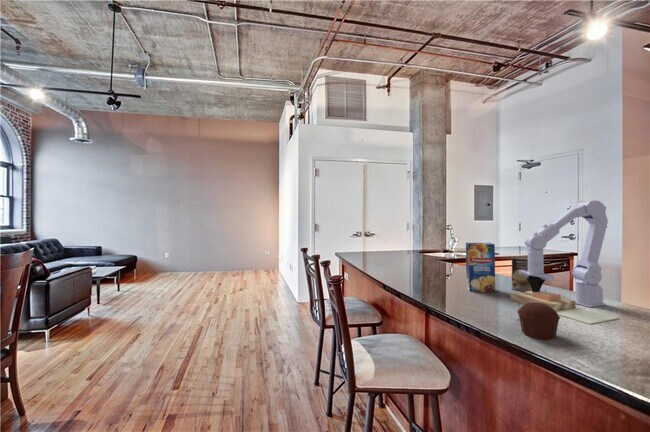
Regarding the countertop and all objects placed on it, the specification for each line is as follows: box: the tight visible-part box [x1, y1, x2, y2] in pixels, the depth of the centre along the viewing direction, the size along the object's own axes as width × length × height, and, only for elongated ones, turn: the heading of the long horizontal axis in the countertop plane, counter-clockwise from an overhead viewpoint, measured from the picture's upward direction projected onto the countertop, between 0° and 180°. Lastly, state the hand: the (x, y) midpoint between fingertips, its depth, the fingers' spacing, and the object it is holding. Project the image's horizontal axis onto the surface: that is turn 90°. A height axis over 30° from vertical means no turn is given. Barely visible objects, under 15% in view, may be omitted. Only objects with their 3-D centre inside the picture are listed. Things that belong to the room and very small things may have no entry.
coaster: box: [532, 290, 562, 301], centre depth 129 cm, size 7×7×2 cm
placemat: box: [556, 307, 620, 325], centre depth 116 cm, size 16×13×1 cm
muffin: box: [516, 302, 561, 341], centre depth 99 cm, size 12×11×10 cm
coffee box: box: [511, 256, 532, 292], centre depth 156 cm, size 9×6×16 cm
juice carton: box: [465, 242, 496, 293], centre depth 156 cm, size 12×8×24 cm, turn 76°
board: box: [510, 291, 577, 311], centre depth 131 cm, size 14×18×3 cm
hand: (535, 294), depth 134 cm, fingers closed
